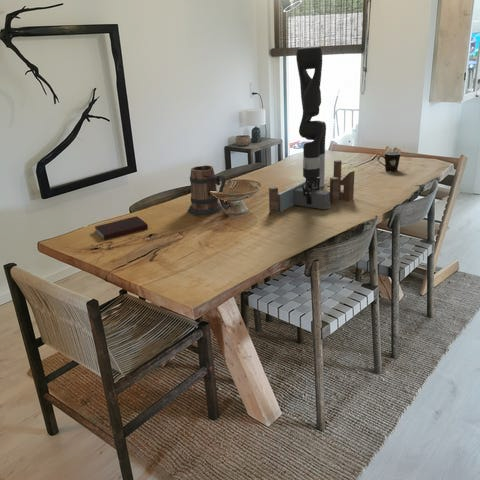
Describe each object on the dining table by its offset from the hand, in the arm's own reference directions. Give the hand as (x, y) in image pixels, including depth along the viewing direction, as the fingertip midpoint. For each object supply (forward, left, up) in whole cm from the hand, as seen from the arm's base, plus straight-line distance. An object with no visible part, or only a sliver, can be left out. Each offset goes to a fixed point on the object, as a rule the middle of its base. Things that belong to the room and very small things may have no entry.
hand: (311, 202), depth 219 cm
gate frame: (0, -3, -2) cm, 4 cm away
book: (-11, -85, -3) cm, 86 cm away
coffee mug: (-36, +70, -2) cm, 78 cm away
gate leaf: (-7, -6, -2) cm, 9 cm away
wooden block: (-4, +19, -2) cm, 19 cm away
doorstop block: (0, 0, -2) cm, 2 cm away
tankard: (-18, -43, -2) cm, 47 cm away
